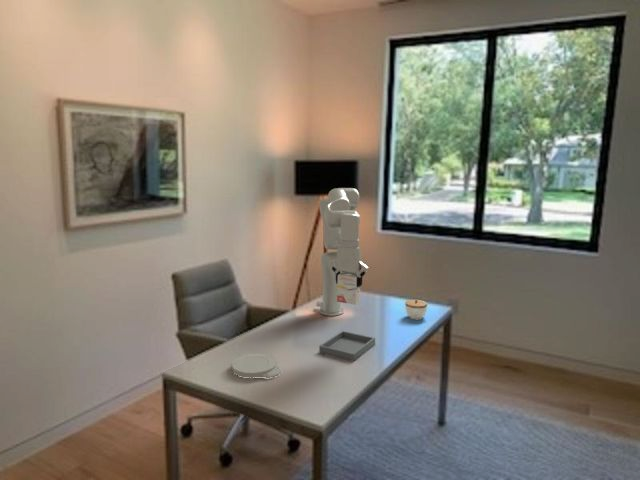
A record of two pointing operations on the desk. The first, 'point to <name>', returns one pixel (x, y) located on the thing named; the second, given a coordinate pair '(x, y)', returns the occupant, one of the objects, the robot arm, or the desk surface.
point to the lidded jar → (416, 308)
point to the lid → (256, 366)
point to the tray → (347, 345)
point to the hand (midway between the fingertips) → (348, 284)
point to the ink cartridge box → (348, 288)
